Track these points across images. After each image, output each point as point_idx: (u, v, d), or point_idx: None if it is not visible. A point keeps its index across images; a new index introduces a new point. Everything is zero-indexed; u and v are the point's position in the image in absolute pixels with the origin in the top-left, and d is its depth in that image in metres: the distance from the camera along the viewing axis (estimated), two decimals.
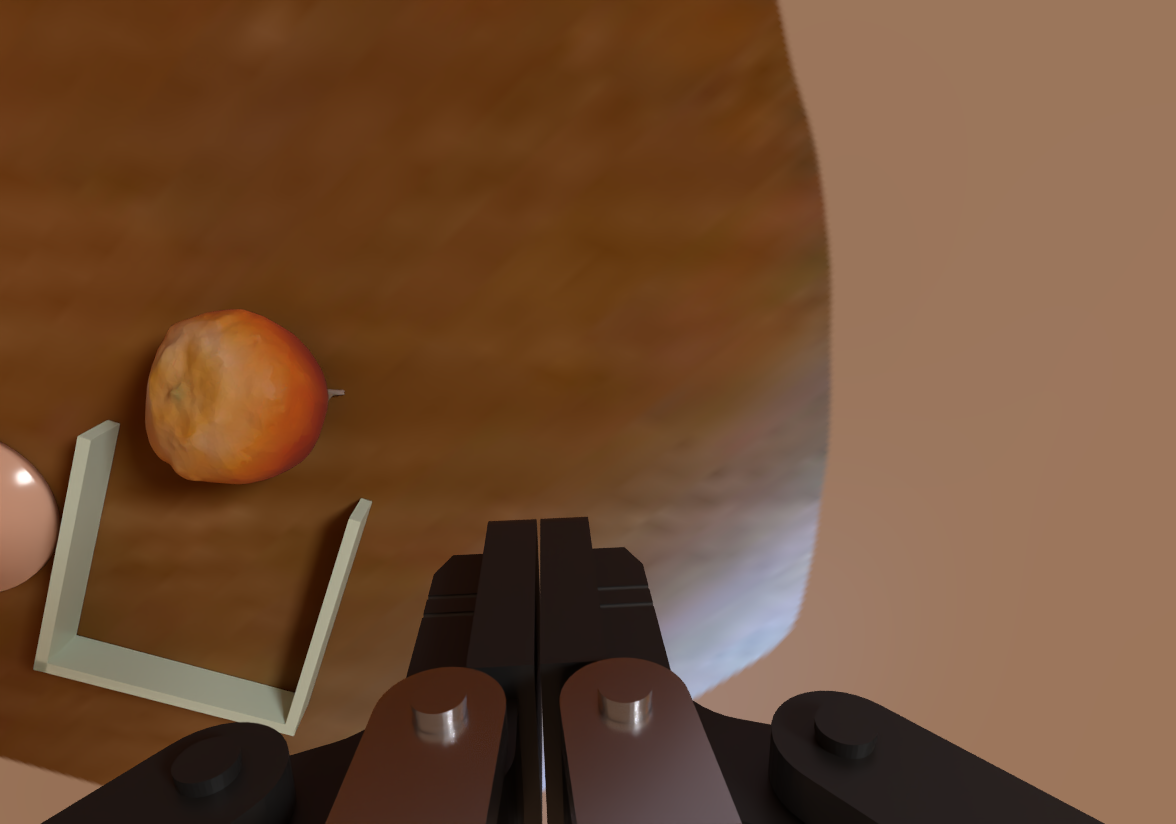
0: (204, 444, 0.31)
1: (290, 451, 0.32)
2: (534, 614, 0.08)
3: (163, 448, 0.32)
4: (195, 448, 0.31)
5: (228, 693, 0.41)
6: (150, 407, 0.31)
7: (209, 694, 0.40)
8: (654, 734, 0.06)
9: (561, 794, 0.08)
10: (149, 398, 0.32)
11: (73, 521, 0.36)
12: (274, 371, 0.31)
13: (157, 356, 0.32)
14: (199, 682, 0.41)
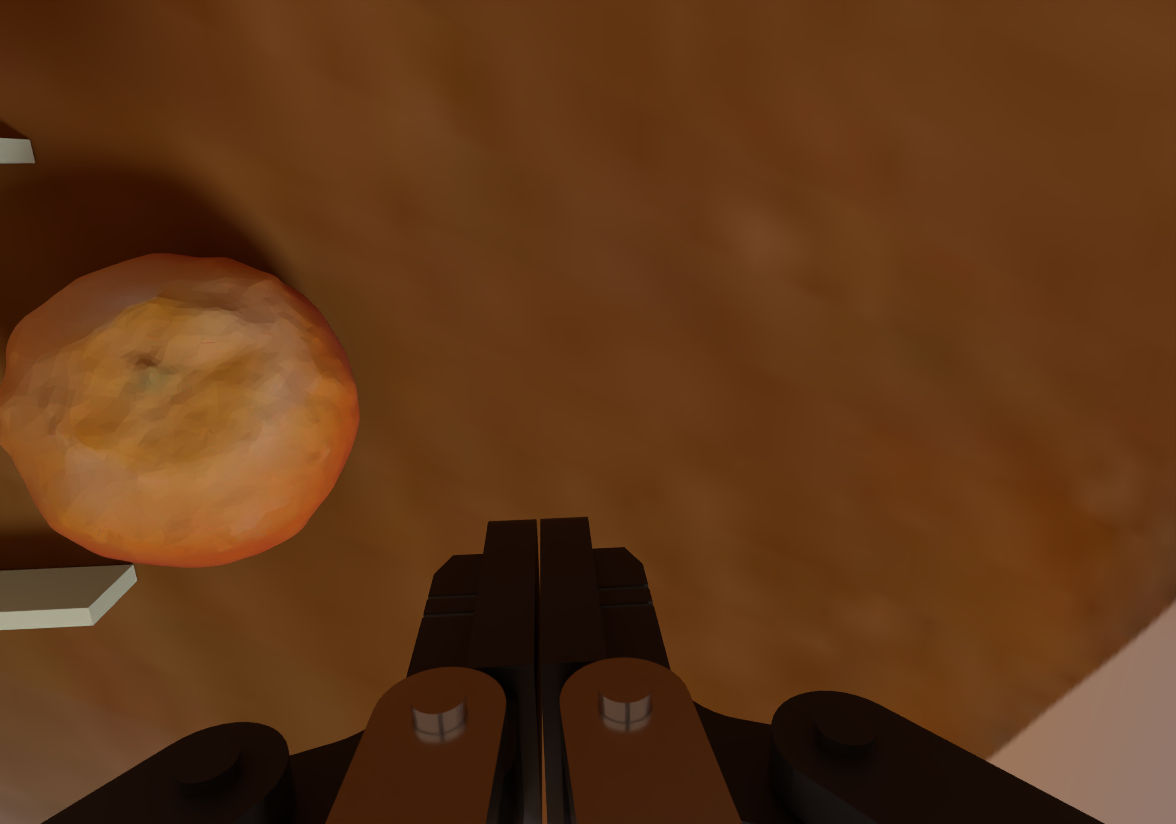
0: (80, 466, 0.16)
1: (153, 564, 0.18)
2: (534, 614, 0.08)
3: (29, 374, 0.16)
4: (65, 453, 0.16)
5: None
6: (98, 327, 0.16)
7: None
8: (654, 734, 0.06)
9: (561, 794, 0.08)
10: (114, 316, 0.16)
11: None
12: (282, 511, 0.18)
13: (202, 288, 0.17)
14: None
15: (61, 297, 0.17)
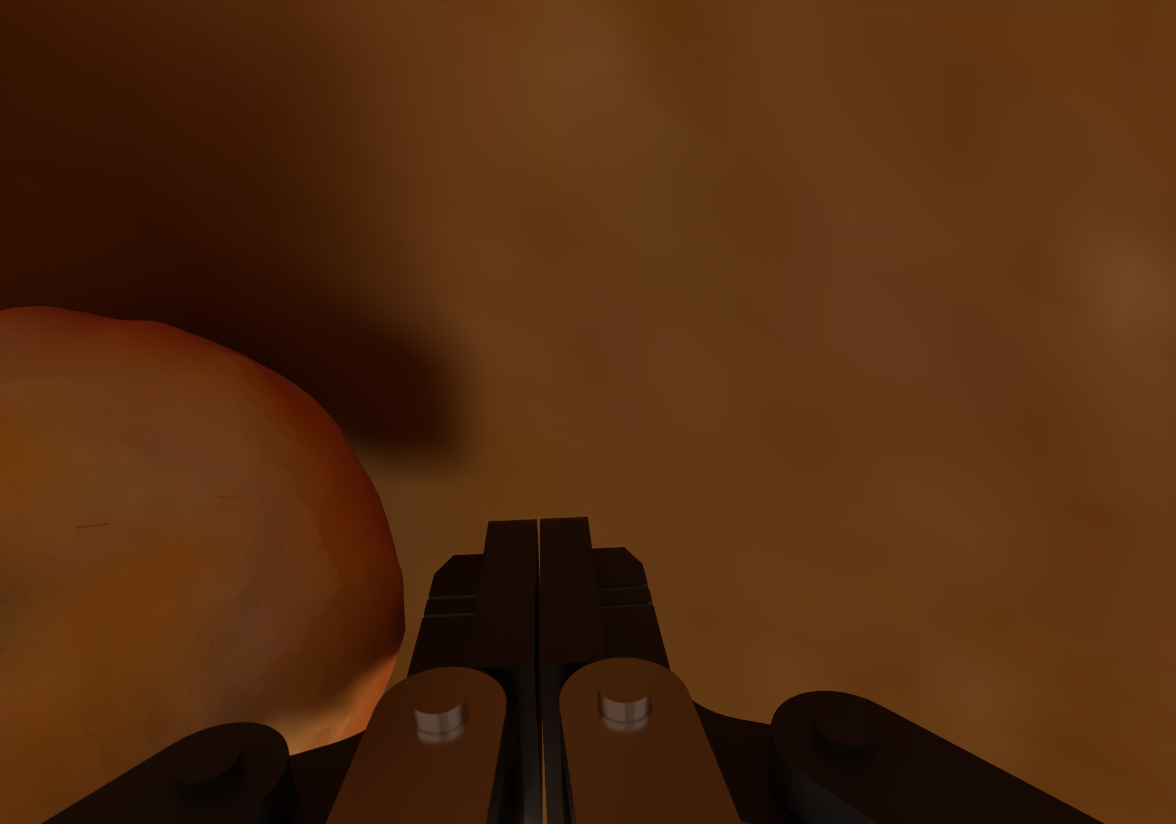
0: None
1: None
2: (534, 614, 0.08)
3: None
4: None
5: None
6: None
7: None
8: (653, 734, 0.06)
9: (561, 794, 0.08)
10: None
11: None
12: None
13: (91, 397, 0.08)
14: None
15: None
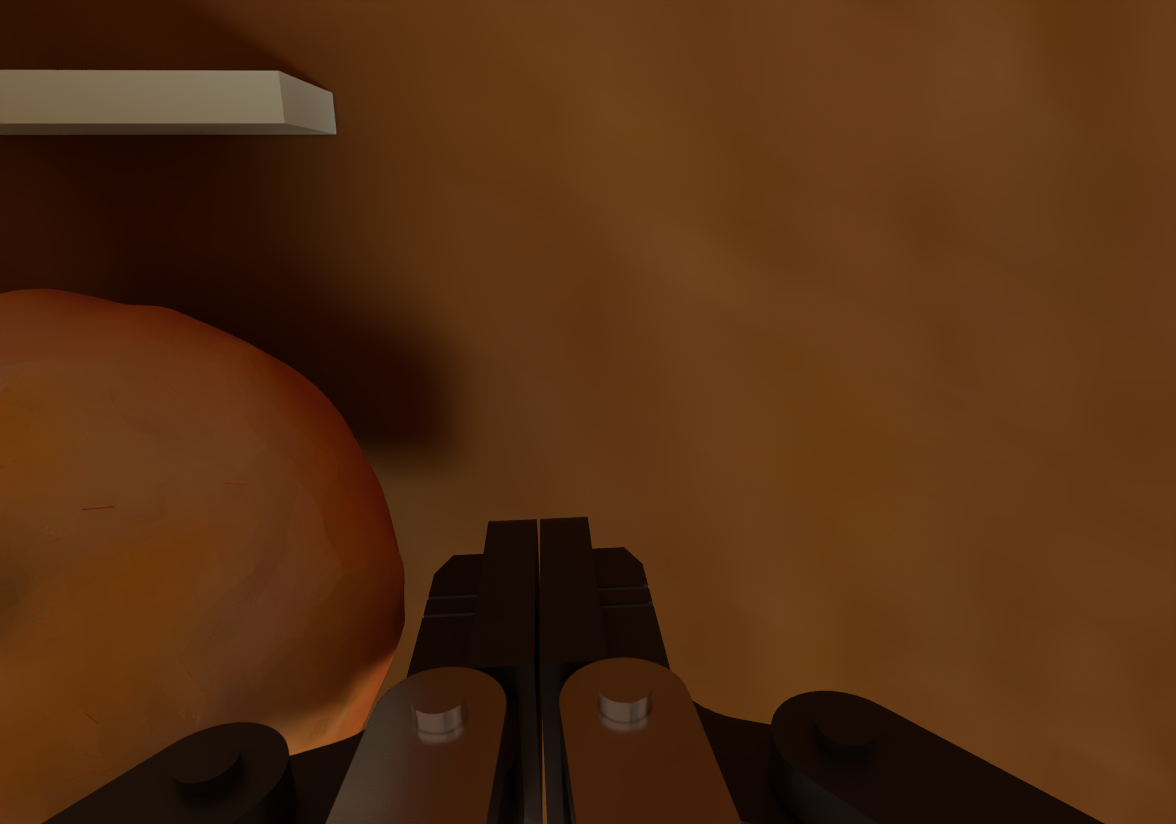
0: None
1: None
2: (534, 614, 0.08)
3: None
4: None
5: None
6: None
7: None
8: (654, 734, 0.06)
9: (561, 794, 0.08)
10: None
11: None
12: None
13: (99, 380, 0.08)
14: None
15: None
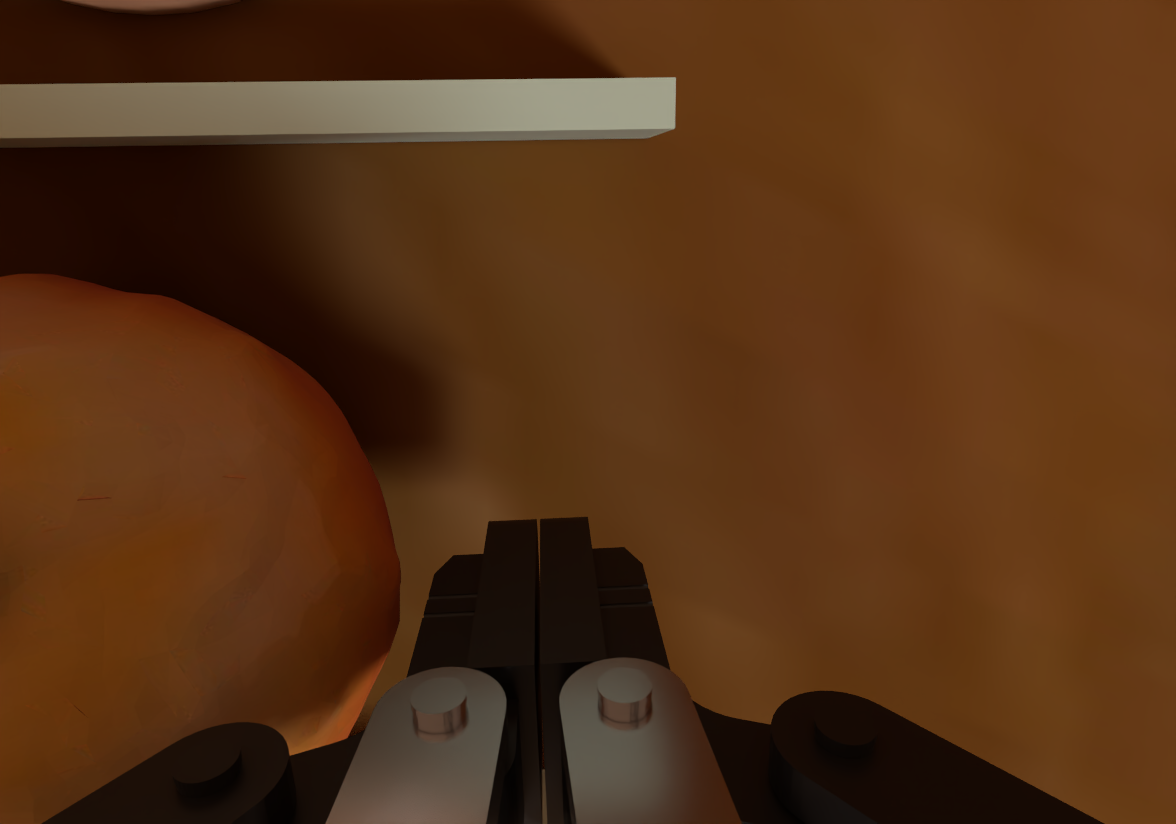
0: None
1: None
2: (534, 614, 0.08)
3: None
4: None
5: None
6: None
7: None
8: (654, 734, 0.06)
9: (561, 794, 0.08)
10: None
11: (316, 128, 0.09)
12: None
13: (98, 368, 0.08)
14: None
15: None
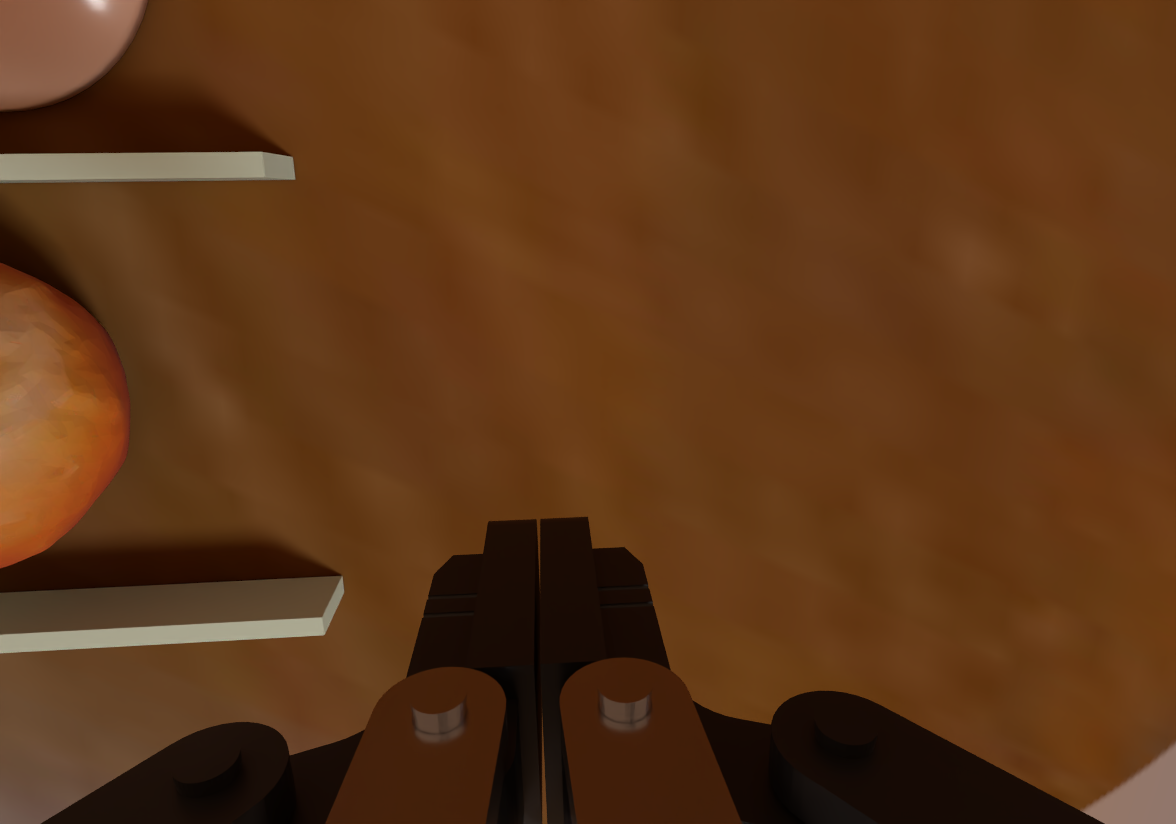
0: None
1: None
2: (534, 614, 0.08)
3: None
4: None
5: None
6: None
7: None
8: (654, 734, 0.06)
9: (561, 794, 0.08)
10: None
11: (74, 176, 0.18)
12: (16, 525, 0.17)
13: None
14: None
15: None
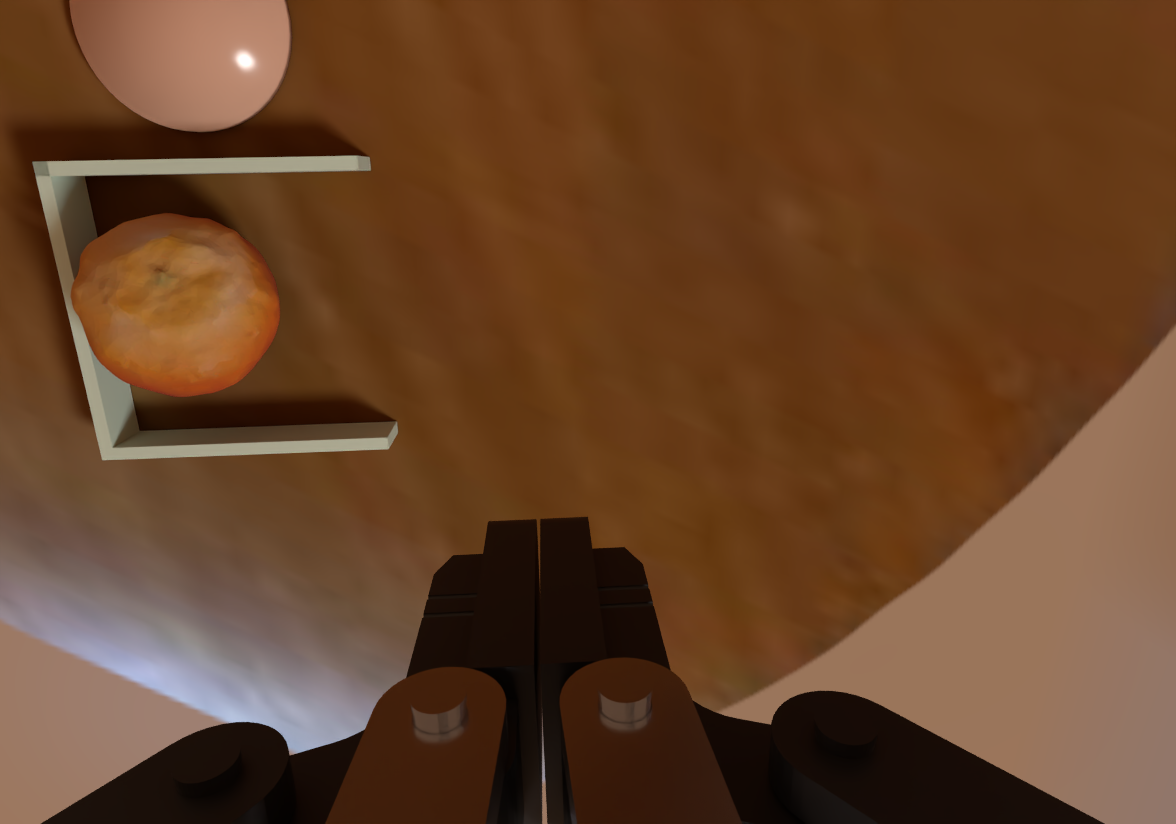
0: (119, 322, 0.30)
1: (151, 389, 0.32)
2: (534, 614, 0.08)
3: (94, 271, 0.30)
4: (111, 314, 0.29)
5: None
6: (134, 248, 0.30)
7: None
8: (654, 734, 0.06)
9: (561, 794, 0.08)
10: (144, 244, 0.30)
11: (252, 170, 0.32)
12: (228, 362, 0.31)
13: (193, 233, 0.31)
14: None
15: (114, 232, 0.31)
